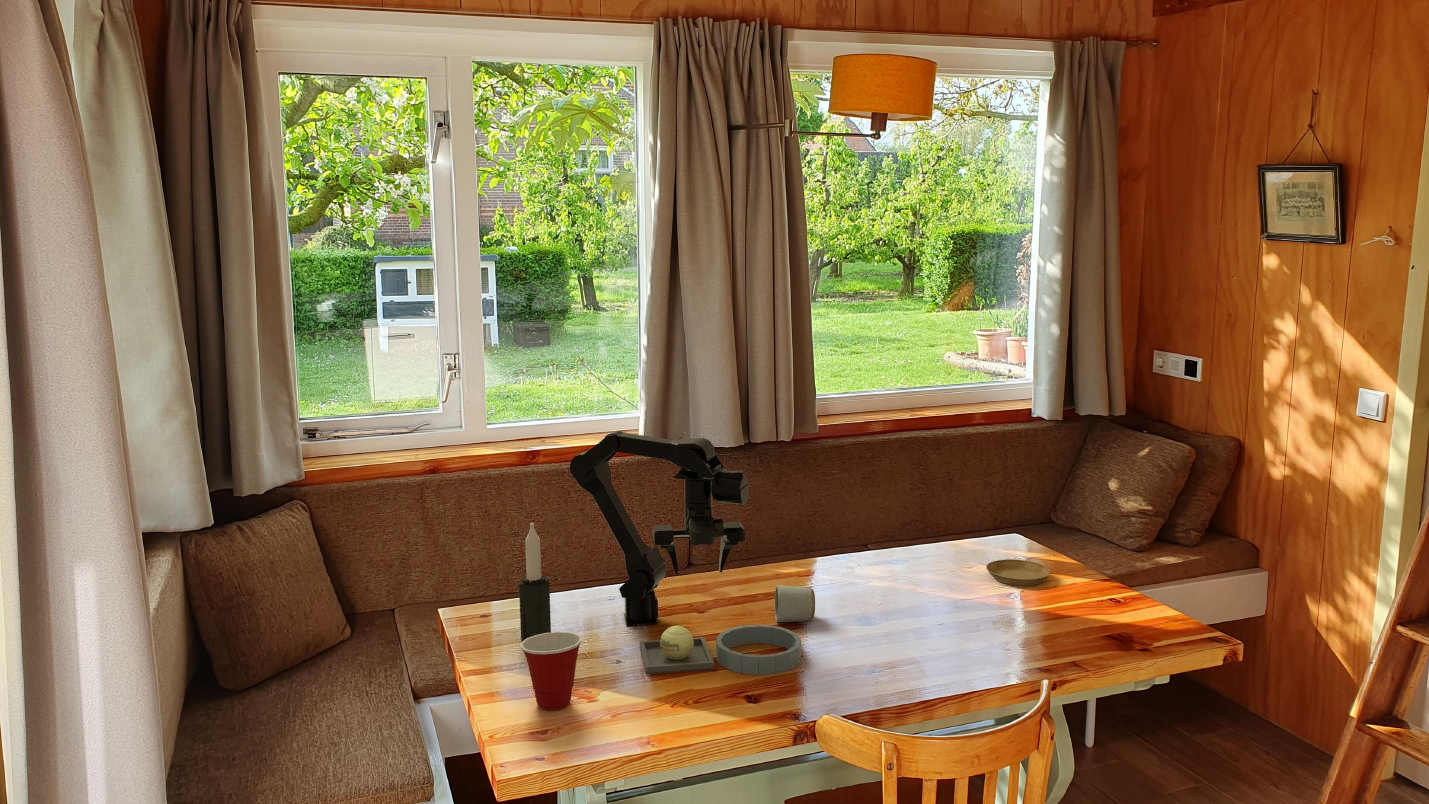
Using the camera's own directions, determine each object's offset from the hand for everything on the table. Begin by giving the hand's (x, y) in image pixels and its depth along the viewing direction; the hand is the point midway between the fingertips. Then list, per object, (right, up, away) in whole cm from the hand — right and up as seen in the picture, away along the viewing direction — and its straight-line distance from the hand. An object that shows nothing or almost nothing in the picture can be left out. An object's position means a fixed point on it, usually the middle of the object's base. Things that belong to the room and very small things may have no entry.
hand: (698, 573), depth 228 cm
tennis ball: (-4, -14, -14) cm, 21 cm away
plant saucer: (+75, -7, +32) cm, 82 cm away
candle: (-33, -13, -5) cm, 36 cm away
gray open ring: (+12, -14, -14) cm, 23 cm away
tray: (-4, -15, -14) cm, 21 cm away
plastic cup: (-25, -18, -33) cm, 46 cm away
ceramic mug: (+20, -11, +7) cm, 24 cm away
